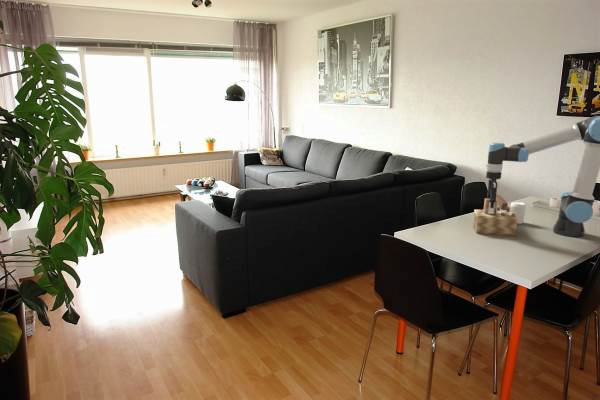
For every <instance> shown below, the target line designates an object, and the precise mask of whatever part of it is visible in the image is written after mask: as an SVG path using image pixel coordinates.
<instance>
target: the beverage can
mask: <svg viewBox="0 0 600 400" xmlns="http://www.w3.org/2000/svg"><path fill="white" fill-rule="evenodd" d="M510 212H513V213H515V215H516V216H517V217H518V220H517V225H521V224H524V221H525V216H526V215H525V214H526V203H524V202H521V201H512V202H511V204H510Z"/></svg>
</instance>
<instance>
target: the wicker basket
mask: <svg viewBox="0 0 600 400" xmlns="http://www.w3.org/2000/svg"><path fill="white" fill-rule="evenodd" d="M497 211H501V209H500V207H499V206H498V205H497ZM505 211H507V212H510V207H509V206H508V207H507V210H505ZM473 216H474V217H473V223H472V225H473V229H474V232H475V234H479V235H480V234H481V235H492V236H493V235H495V236H503V237H505V236H506V237H516V234H517V226H518V224H517V220H503V219H489V218H477V216H476V214H475V212H474V214H473Z"/></svg>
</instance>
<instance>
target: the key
mask: <svg viewBox="0 0 600 400" xmlns="http://www.w3.org/2000/svg"><path fill="white" fill-rule="evenodd" d="M496 199H497V200H498V202H497V206H498V207H500V211H506V210H507V207H509V203H508V201H507V200H505V198H504V197H503V196H502V194H496Z"/></svg>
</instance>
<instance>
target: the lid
mask: <svg viewBox="0 0 600 400" xmlns="http://www.w3.org/2000/svg"><path fill="white" fill-rule="evenodd" d="M492 200H493V199H492ZM489 201H490V198H485V197H484V203H483V204H484V205H483V209H474V210H473V211H474V213H475V214H476V216H477V218H489V219H503V220H518V217H517V216H516V215H515V213H513V212H507V211H506V210H500V211H497V206H498V205H497V202H498V200H497V199H496V202H495V206H494V214H488V210H489Z"/></svg>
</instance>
